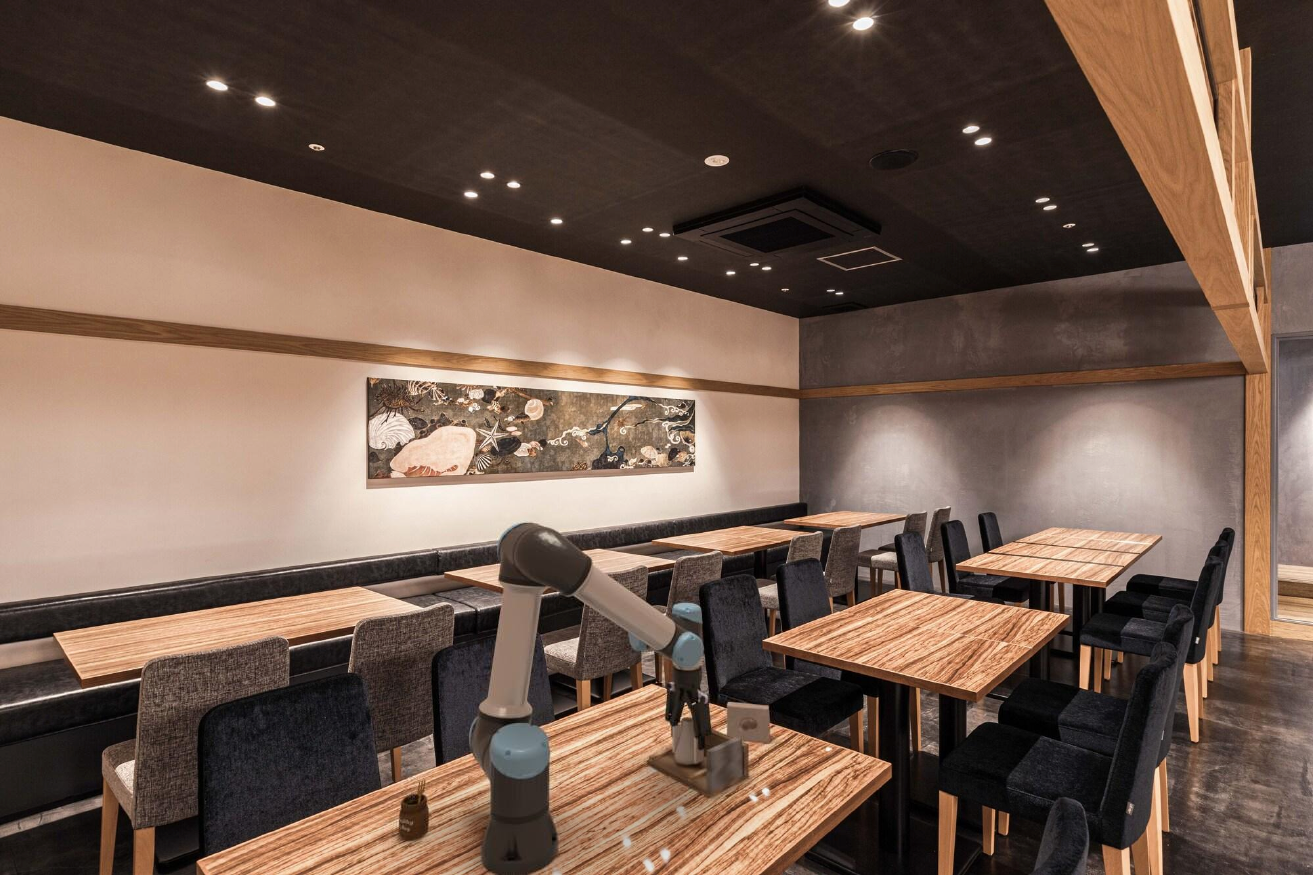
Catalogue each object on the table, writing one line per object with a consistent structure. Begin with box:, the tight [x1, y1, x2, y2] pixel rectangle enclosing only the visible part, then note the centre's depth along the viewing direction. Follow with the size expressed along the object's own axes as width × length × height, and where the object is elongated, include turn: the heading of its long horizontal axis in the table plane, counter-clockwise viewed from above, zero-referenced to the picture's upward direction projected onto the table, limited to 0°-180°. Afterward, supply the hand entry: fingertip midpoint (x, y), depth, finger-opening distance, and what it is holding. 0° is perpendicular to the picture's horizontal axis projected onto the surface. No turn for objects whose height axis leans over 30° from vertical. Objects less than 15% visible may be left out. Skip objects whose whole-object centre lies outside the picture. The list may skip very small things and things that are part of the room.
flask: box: [674, 716, 698, 765], centre depth 167 cm, size 7×7×10 cm
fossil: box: [726, 701, 772, 744], centre depth 183 cm, size 12×4×10 cm, turn 78°
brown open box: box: [646, 721, 750, 799], centre depth 164 cm, size 14×22×10 cm, turn 42°
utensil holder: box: [398, 776, 430, 841], centre depth 138 cm, size 6×6×12 cm
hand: (687, 756), depth 166 cm, fingers closed on flask, 7 cm apart
